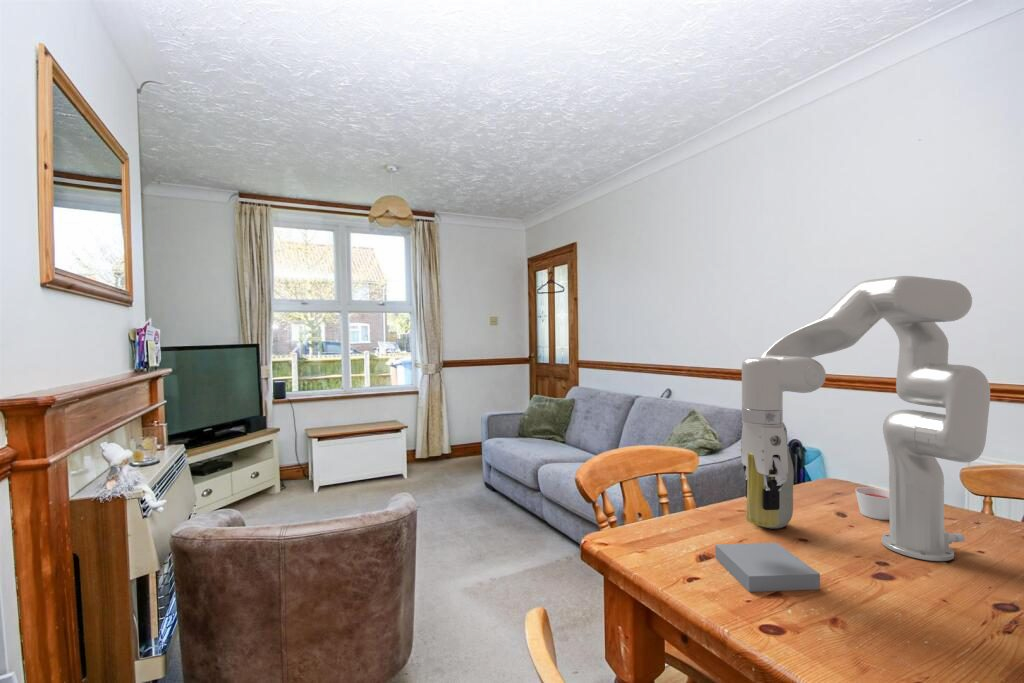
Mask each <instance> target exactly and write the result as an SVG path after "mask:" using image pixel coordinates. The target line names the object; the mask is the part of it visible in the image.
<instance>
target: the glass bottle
mask: <svg viewBox="0 0 1024 683" xmlns="http://www.w3.org/2000/svg"><path fill="white" fill-rule="evenodd" d="M782 427H784V431H785V436H786V443H787V454H788V474H787V475H786V476H787V481H785V482H784V483H783V485H782V487H781V491H780V508H779V510H778V519H779V524H778V525H777V526H774V527H764V526H762V527H763V528H766V529H781V528H784V527H786V526H788V524H789V523H790V522H791V520H792V517H793V514H794V480H795V479H794V474H795V473H794V464H793V461H792V456H791V453H790V450H789V446H788V439H787V438H788V430H787V427H786V424H785V423H784V422H783V426H782Z"/></svg>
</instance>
